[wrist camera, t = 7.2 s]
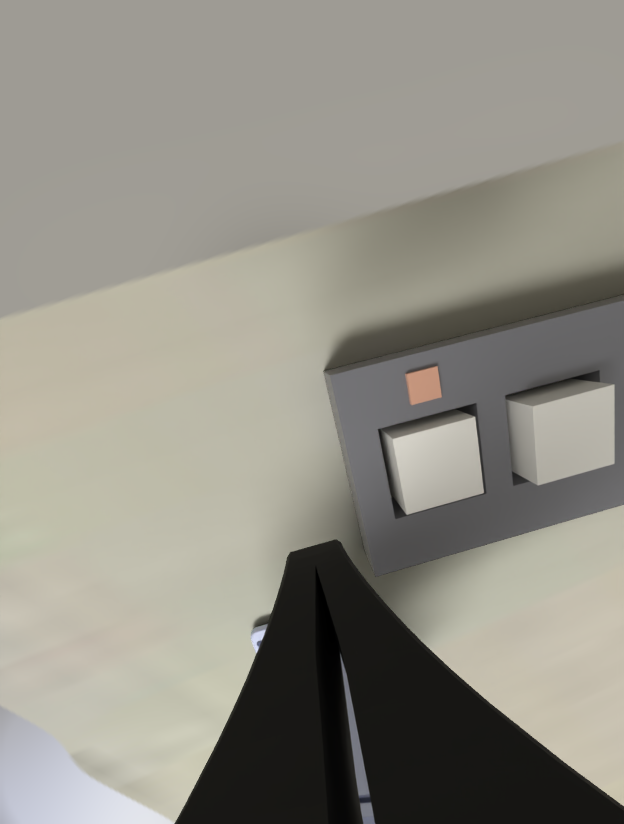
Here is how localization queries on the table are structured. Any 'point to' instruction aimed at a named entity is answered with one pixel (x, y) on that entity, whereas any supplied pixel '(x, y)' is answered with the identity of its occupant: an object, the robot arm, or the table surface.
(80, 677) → the table surface
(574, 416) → the key middle
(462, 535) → the keypad frame
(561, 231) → the table surface
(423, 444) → the key inner
